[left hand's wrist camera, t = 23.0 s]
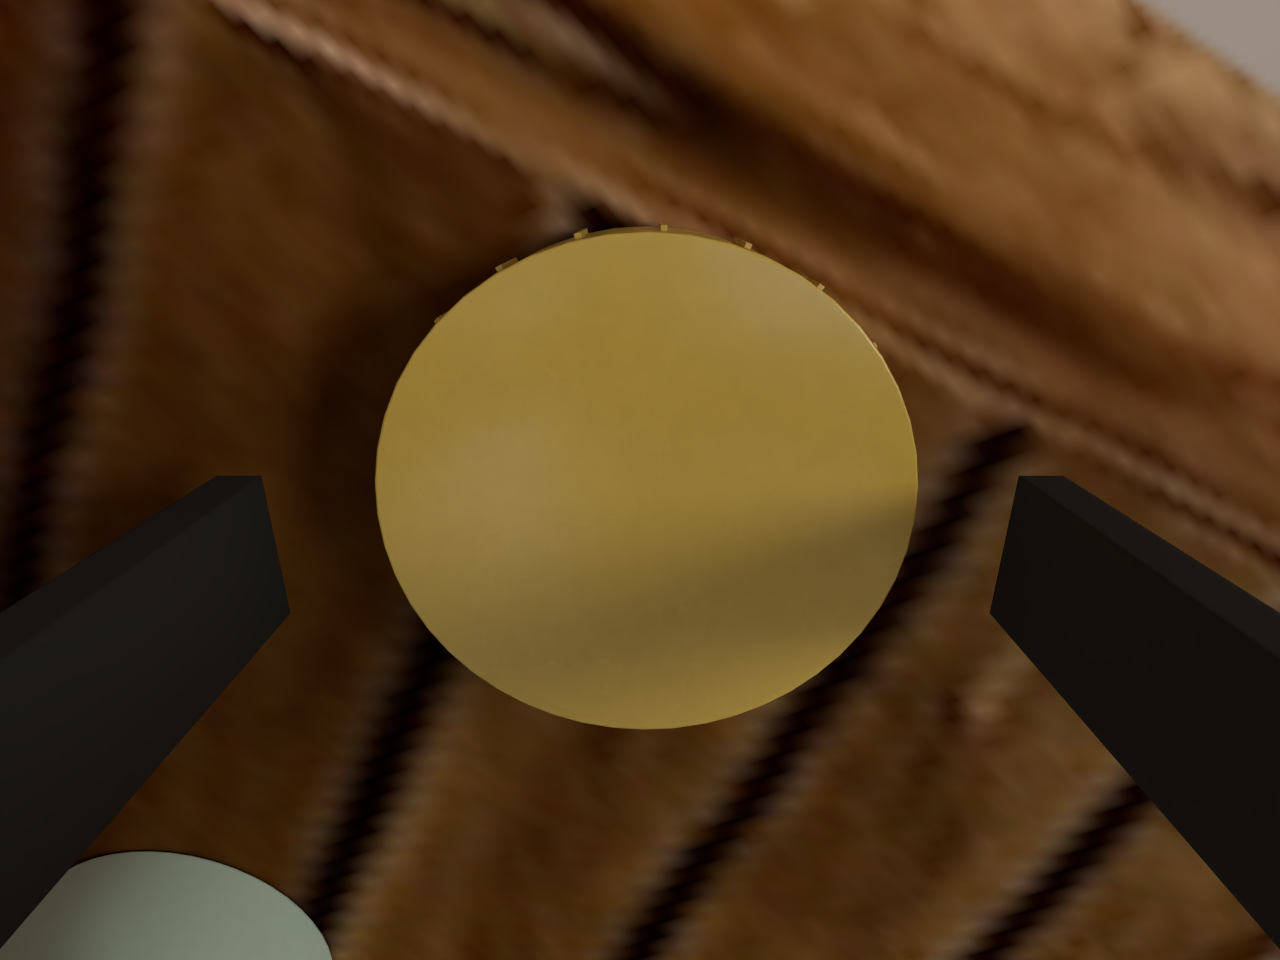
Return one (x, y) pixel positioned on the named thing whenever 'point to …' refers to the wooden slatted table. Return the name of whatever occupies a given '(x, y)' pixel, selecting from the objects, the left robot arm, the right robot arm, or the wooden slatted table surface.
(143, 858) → the jar
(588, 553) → the lid
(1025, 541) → the left robot arm
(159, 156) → the wooden slatted table surface
